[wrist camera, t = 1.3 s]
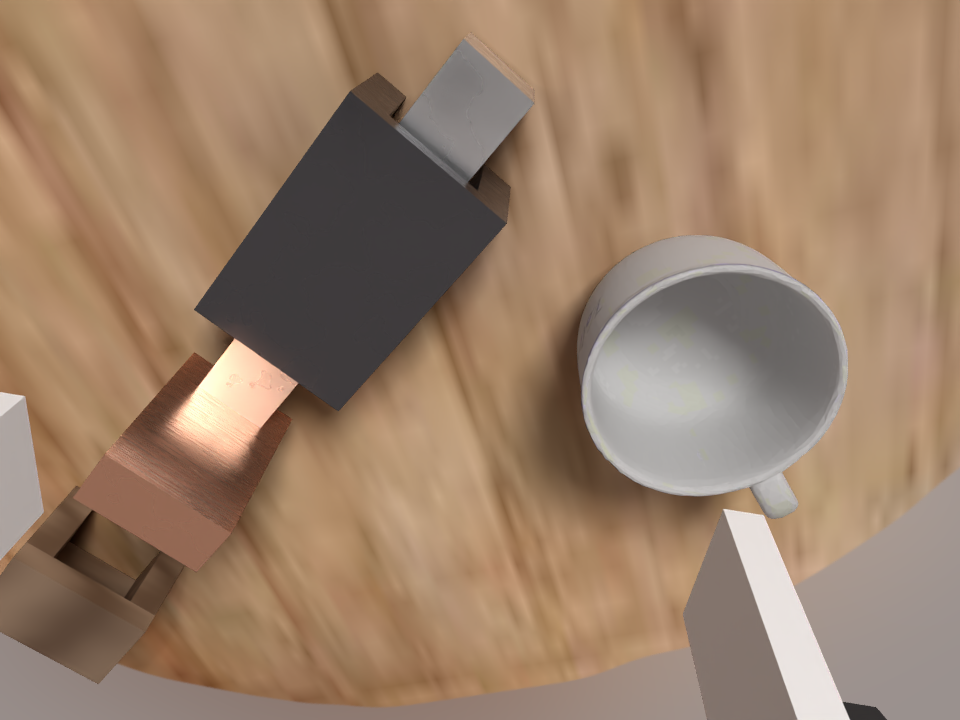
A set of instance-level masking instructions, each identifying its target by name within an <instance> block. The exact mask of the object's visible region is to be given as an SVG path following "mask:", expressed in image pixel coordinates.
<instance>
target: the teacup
mask: <svg viewBox="0 0 960 720" xmlns="http://www.w3.org/2000/svg"><path fill="white" fill-rule="evenodd" d="M577 360H578V371H579V378H580V385H581V406H582V411H583V416H584V420H585V423H586V427H587V429H588V431H589V433H590V436H591V438H592V440H593V442H594V443H595V445H596V447H597V449H598V450H599V451H600V452H601V453H602V455H603V456H604V458H605V459H606V460H608V461H610V463H611V464H612V465H613V466H614V467H615V468H616V469H617V470H618V471H619V472H620V473H622V474H624V475H625V476H626V477H628V478H630V479H631V480H633V481H635V482H637V483H638V484H640V485H642V486H645V487H648V488H651V489H654V490H657V491H660V492H663V493H668V494H674V495H680V496H710V495H718V494H723V493H728V492H733V491H736V490H740V489H744V488H748V487H749V488H750V489H751V491H752V493H753V495H754V496H755V498H756V500H757V502H758V503H759V505H760V507H761V509H762V510H763V512H764V513H765V514H766V516H767V517H769V518H771V519H776V518H782V517H784V516H786V515H788V514H790V513H792V512H793V511H795V509H796V508H797V506H798V501H797V499H796V497H795V495H794V493H793V492H792V490H791V488H790V486H789V485H788V483H787V481H786V479H785V477H784V475H783V473H782V472H783V471H784V470H785V469H787V468H788V467H789V466H791V465H792V464H794V463H795V462H796V461H797V460H798V459H799V458H800V457H801V456H802V455H804V454H805V453H807V452H808V451H809V450H810V449H811V448H812V447H813V446H814V445H815V444H816V443H817V442H818V441H819V440H820V439H821V438H822V436H823V435H824V434H825V432H826V431H827V430H828V428H829V426H830V425H831V423H832V421H833V420H834V418H835V416H836V414H837V412H838V410H839V408H840V405H841V403H842V400H843V397H844V393H845V389H846V385H847V378H848V356H847V347H846V343H845V339H844V335H843V332H842V330H841V327H840V325H839V323H838V321H837V319H836V318H835V316H834V314H833V313H832V312H831V310H830V309H829V307H828V306H827V305H826V304H825V303H824V302H823V301H822V299H821V298H820V297H819V296H818V295H817V294H816V293H814V292H813V291H812V290H811V289H809V288H808V287H807V286H806V285H804V284H802V283H801V282H799V281H797V280H796V279H794V278H792V277H791V276H790V275H789V274H788V273H786V272H785V271H784V270H783V269H782V268H780V267H779V266H778V265H776V264H775V263H774V262H772V261H771V260H770V259H768V258H767V257H766V256H764V255H762V254H761V253H759V252H757V251H756V250H754V249H752V248H750V247H748V246H745V245H743V244H741V243H738V242H735V241H732V240H729V239H726V238H721V237H715V236H707V235H687V236H678V237H673V238H668V239H664V240H660V241H657V242H655V243H652V244H649V245H647V246H645V247H643V248H641V249H639V250H637V251H635V252H633V253H632V254H630V255H629V256H627V257H625V258H624V259H623V260H621V261H620V262H619V263H618V264H616V265H615V266H614V267H613V268H612V269H611V270H610V271H609V272H608V273H607V274H606V275H605V276H604V278H603V279H602V280H601V282H600V283H599V284H598V285H597V287H596V288H595V290H594V291H593V293H592V294H591V296H590V298H589V300H588V302H587V304H586V307H585V309H584V312H583V315H582V318H581V321H580V326H579V331H578V340H577Z"/></svg>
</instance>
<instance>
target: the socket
mask: <svg viewBox="0 0 960 720" xmlns="http://www.w3.org/2000/svg"><path fill="white" fill-rule="evenodd" d="M79 489H80V488H79V487H77V486H76V487H75V488H74V489H73V490H72V491H71V492H70V494H69V495H68V496H67V497H66V498H65V499H64V500H63V501H62V503H61V504H60V505H59V506H58V507H57V508H56V509H55V511H54V512H53V513H52V514H51V515H50V516H49V517H48V518H47V520H46V521H45V522H44V523H43V524H42V525H41V526H40V528H39V529H38V530H37V531H36V532H35V533H34V534H33V536H32V537H31V538H30V539H29V540H28V541H27V542H26V543H25V545H24V546H23V547H22V548H21V549H20V550H19V551H18V553H17V554H16V555H15V556H14V557H13V558H12V560H11V561H10V563H9V564H8V565H7V567H6V568H5V570H4V571H3V572H2V574H1V575H0V632H2V633H4V634H5V635H7V636H9V637H11V638H13V639H15V640H17V641H18V642H20V643H22V644H24V645H26V646H28V647H30V648H32V649H33V650H35V651H37V652H39V653H41V654H43V655H45V656H47V657H49V658H50V659H52V660H54V661H56V662H58V663H60V664H62V665H64V666H65V667H67V668H69V669H71V670H73V671H75V672H77V673H79V674H80V675H82V676H84V677H86V678H88V679H90V680H92V681H94V682H95V683H97V684H99V683H100V682H101V681H102V680H103V678H104V677H105V676H106V675H107V674H108V673H109V672H110V671H111V670H112V668H113V667H114V666H115V665H116V664H117V663H118V662H119V661H120V660H121V658H122V657H123V656H124V655H125V654H126V653H127V652H128V651H129V650H130V649H131V647H132V646H133V645H134V644H135V643H136V642H137V641H138V640H139V639H140V637H141V636H142V635H143V634H144V633H145V632H146V630H147V628H148V627H149V625H150V623H151V622H152V620H153V618H154V616H155V615H156V613H157V611H158V610H159V608H160V606H161V604H162V603H163V601H164V599H165V598H166V596H167V594H168V592H169V591H170V589H171V587H172V586H173V584H174V582H175V580H176V579H177V577H178V575H179V574H180V572H181V570H182V568H183V567H184V564H182V563H180V562H179V561H177V560H175V559H174V558H172V557H170V556H169V555H167V554H165V553H164V552H162V551H160V552H159V553H158V554H157V556H156V557H155V558H154V559H153V560H152V561H151V563H150V564H149V565H148V566H147V567H146V569H145V570H144V571H143V572H142V573H141V574H140V576H139V577H138V578H137V579H136V580H134V579H132V578H131V577H129V576H127V575H125V574H124V573H122V572H120V571H119V570H117V569H115V568H113V567H112V566H110V565H108V564H107V563H105V562H103V561H101V560H100V559H98V558H96V557H94V556H93V555H91V554H89V553H88V552H86V551H84V550H82V549H81V548H79V547H77V546H76V545H74V544H72V543H70V542H69V541H70V539H71V538H72V537H73V535H74V534H75V533H76V531H77V530H78V529H79V527H80V526H81V525H82V523H83V522H84V521H85V519H86V518H87V517H88V515H89V514H90V513H91V511H92V509H90V508H89V507H87V506H85V505H84V504H82V503H80V502H79V501H77V500H75V499H74V498H73V497H74V496H75V494H76V493H77V492H78V490H79Z"/></svg>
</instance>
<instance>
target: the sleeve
mask: <svg viewBox="0 0 960 720" xmlns="http://www.w3.org/2000/svg"><path fill="white" fill-rule="evenodd" d="M405 98H406V96H404V95H403V94H402V93H401V92H400V91H399V90H397V89H396V88H395V87H394V86H393V85H392V84H390V83H389V82H388V81H387V80H386V79H385V78H384V77H382V76H381V75H380V74H379V73H376V74H375V75H373V76H372V77H370V78H369V79H367V80H366V81H364V82H363V83H361V84H360V85H358V86H357V87H356V88H354V89H353V90H351V91H350V92H349V94H348V95H347V96H346V98H345V99H344V101H343V102H342V103H341V105H340V106H339V108H338V109H337V110H336V112H335V113H334V114H333V116H332V117H331V119H330V120H329V121H328V123H327V124H326V126H325V127H324V128H323V130H322V131H321V133H320V134H319V135H318V137H317V138H316V140H315V141H314V142H313V144H312V145H311V147H310V148H309V149H308V151H307V152H306V154H305V155H304V156H303V158H302V159H301V161H300V162H299V163H298V165H297V166H296V168H295V169H294V170H293V172H292V173H291V175H290V176H289V177H288V179H287V180H286V182H285V183H284V184H283V186H282V187H281V189H280V190H279V191H278V193H277V194H276V196H275V197H274V198H273V200H272V201H271V203H270V204H269V205H268V207H267V208H266V210H265V211H264V212H263V214H262V215H261V217H260V218H259V219H258V221H257V222H256V224H255V225H254V226H253V228H252V229H251V231H250V232H249V233H248V235H247V236H246V238H245V239H244V240H243V242H242V243H241V245H240V246H239V247H238V249H237V250H236V252H235V253H234V254H233V256H232V257H231V259H230V260H229V261H228V263H227V264H226V266H225V267H224V268H223V270H222V271H221V273H220V274H219V275H218V277H217V278H216V280H215V281H214V282H213V284H212V285H211V287H210V288H209V289H208V291H207V292H206V294H205V295H204V296H203V298H202V299H201V301H200V302H199V303H198V305H197V306H196V308H195V309H194V310H195V311H197V312H198V313H199V314H201V315H202V316H204V317H205V318H207V319H208V320H209V321H211V322H212V323H214V324H215V325H216V326H218V327H219V328H221V329H222V330H224V331H225V332H226V333H228V334H229V335H231V336H232V337H234V338H235V339H236V340H238V341H239V342H241V343H242V344H243V345H245V346H246V347H248V348H249V349H251V350H252V351H253V352H255V353H256V354H258V355H259V356H260V357H262V358H263V359H265V360H266V361H268V362H269V363H270V364H272V365H273V366H275V367H276V368H278V369H279V370H280V371H282V372H283V373H285V374H286V375H287V376H289V377H290V378H292V379H293V380H295V381H296V382H297V383H299V384H300V385H302V386H303V387H305V388H306V389H307V390H309V391H310V392H312V393H313V394H314V395H316V396H317V397H319V398H320V399H322V400H323V401H324V402H326V403H327V404H329V405H330V406H332V407H333V408H334V409H336V410H337V411H339V410H340V409H341V408H342V407H343V406H344V404H345V403H346V402H347V401H348V400H349V399H350V398H351V397H352V396H353V394H354V393H355V392H356V391H357V390H358V389H359V388H360V387H361V385H362V384H363V383H364V382H365V381H366V380H367V379H368V378H369V377H370V375H371V374H372V373H373V372H374V371H375V370H376V369H377V368H378V367H379V365H380V364H381V363H382V362H383V361H384V360H385V359H386V358H387V356H388V355H389V354H390V353H391V352H392V351H393V350H394V349H395V348H396V346H397V345H398V344H399V343H400V342H401V341H402V340H403V339H404V338H405V336H406V335H407V334H408V333H409V332H410V331H411V330H412V329H413V328H414V326H415V325H416V324H417V323H418V322H419V321H420V320H421V319H422V317H423V316H424V315H425V314H426V313H427V312H428V311H429V310H430V309H431V307H432V306H433V305H434V304H435V303H436V302H437V301H438V300H439V299H440V297H441V296H442V295H443V294H444V293H445V292H446V291H447V290H448V288H449V287H450V286H451V285H452V284H453V283H454V282H455V281H456V280H457V278H458V277H459V276H460V275H461V274H462V273H463V272H464V271H465V270H466V268H467V267H468V266H469V265H470V264H471V263H472V262H473V261H474V259H475V258H476V257H477V256H478V255H479V254H480V253H481V252H482V251H483V249H484V248H485V247H486V246H487V245H488V244H489V243H490V242H491V241H492V239H493V238H494V237H495V236H496V235H497V234H498V233H499V232H500V230H501V229H502V228H503V227H504V226H505V225H506V224H507V217H508V208H509V198H510V188H511V187H510V186H509V185H508V184H506V183H505V182H504V181H503V180H502V179H501V178H499V177H498V176H497V175H496V174H495V173H494V172H492V171H491V170H490V169H489V168H488V167H487V166H486V165H484V166H483V167H482V168H481V170H480V171H479V172H478V173H477V174H476V175H475V177H474V178H473V179H472V180H471V181H470V183H468V182H467V181H466V180H465V179H463V178H462V177H461V176H460V175H459V174H457V173H456V172H455V171H454V170H453V169H452V168H450V167H449V166H448V165H447V164H446V163H445V162H443V161H442V160H441V159H440V158H439V157H437V156H436V155H435V154H434V153H433V152H432V151H430V150H429V149H428V148H427V147H426V146H424V145H423V144H422V143H421V142H420V141H419V140H417V139H416V138H415V137H414V136H413V135H412V134H410V133H409V132H408V131H407V130H406V129H404V128H403V127H402V126H401V125H400V124H399V123H397V122H396V121H395V120H394V119H393V118H391V117H392V115H393V114H394V113H395V111H396V110H397V109H398V107H399V106H400V105H401V103H402V102H403V101H404V99H405Z"/></svg>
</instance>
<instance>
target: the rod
mask: <svg viewBox="0 0 960 720" xmlns="http://www.w3.org/2000/svg"><path fill="white" fill-rule="evenodd" d="M533 104H534V89H533V88H532V87H531V86H530V85H529V84H527V83H526V82H525V81H524V80H523V79H522V78H521V77H520V76H519V75H518V74H517V73H515V72H514V71H513V70H512V69H511V68H510V67H509V66H508V65H507V64H506V63H505V62H503V61H502V60H501V59H500V58H499V57H498V56H497V55H496V54H495V53H494V52H493V51H491V50H490V49H489V48H488V47H487V46H486V45H485V44H484V43H483V42H482V41H481V40H480V39H478V38H477V37H476V36H475V35H474V34H473V33H472V32H470V33H469V34H468V35H467V36H466V37H465V38H464V39H463V40H462V42H461V43H460V44H459V46H458V47H457V48H456V50H455V51H454V52H453V54H452V55H451V56H450V58H449V59H448V60H447V61H446V63H445V64H444V65H443V67H442V68H441V69H440V71H439V72H438V73H437V75H436V76H435V77H434V78H433V80H432V81H431V82H430V84H429V85H428V86H427V88H426V89H425V90H424V92H423V93H422V94H421V95H420V97H419V98H418V99H417V101H416V102H415V103H414V105H413V106H412V107H411V109H410V110H409V111H408V113H407V114H406V115H405V116H404V118H403V119H402V120H401V122H400V123H399V124H400V125H401V126H402V127H403V128H404V129H406V130H407V131H408V132H409V133H410V134H412V135H413V136H414V137H415V138H416V139H417V140H419V141H420V142H421V143H422V144H423V145H424V146H426V147H427V148H428V149H429V150H430V151H432V152H433V153H434V154H435V155H436V156H437V157H439V158H440V159H441V160H442V161H443V162H445V163H446V164H447V165H448V166H449V167H450V168H452V169H453V170H454V171H455V172H456V173H457V174H459V175H460V176H461V177H462V178H463V179H465V180H466V181H467V182H468V181H469V180H470V179H471V178H472V177H473V175H474V174H475V173H476V172H477V171H478V169H479V168H480V167H481V166H482V165H483V164H484V162H485V161H486V160H487V159H488V158H489V156H490V155H491V154H492V153H493V152H494V151H495V149H496V148H497V147H498V146H499V145H500V143H501V142H502V141H503V140H504V139H505V137H506V136H507V135H508V134H509V133H510V132H511V130H512V129H513V128H514V127H515V126H516V124H517V123H518V122H519V121H520V120H521V119H522V117H523V116H524V115H525V114H526V113H527V111H528V110H529V109H530V108H531V107H532V105H533ZM297 384H298V383H297V382H296V381H295V380H293V379H292V378H290V377H289V376H287V375H286V374H285V373H283V372H282V371H280V370H279V369H278V368H276V367H275V366H273V365H272V364H270V363H269V362H268V361H266V360H265V359H263V358H262V357H260V356H259V355H258V354H256V353H255V352H253V351H252V350H251V349H249V348H248V347H246V346H245V345H243V344H242V343H241V342H239V341H238V340H236V339H234V340H233V342H232V343H231V344H230V346H229V347H228V348H227V350H226V351H225V352H224V354H223V355H222V356H221V357H220V359H219V360H218V361H217V363H216V364H215V365H212V364H211V363H209V362H208V361H206V360H205V359H204V358H202V357H201V356H199V355H198V354H196V353H195V352H194V353H193V354H192V356H191V357H190V358H189V359H188V360H187V361H186V362H185V364H184V365H183V366H182V367H181V368H180V369H179V370H178V371H177V373H176V374H175V375H174V376H173V377H172V378H171V379H170V381H169V382H168V383H167V384H166V385H165V386H164V387H163V389H162V390H161V391H160V392H159V393H158V394H157V395H156V396H155V398H154V399H153V400H152V401H151V402H150V403H149V404H148V406H147V407H146V408H145V409H144V410H143V411H142V412H141V414H140V415H139V416H138V417H137V418H136V419H135V420H134V421H133V423H132V424H131V425H130V426H129V427H128V428H127V429H126V431H125V432H124V433H123V434H122V435H121V436H120V437H119V439H118V440H117V441H116V442H115V443H114V444H113V445H112V446H111V448H110V449H109V450H108V451H107V452H106V453H105V454H104V456H103V457H102V459H101V460H100V461H99V463H98V464H97V465H96V467H95V468H94V470H93V471H92V472H91V474H90V475H89V476H88V478H87V479H86V481H85V482H84V483H83V485H82V486H81V487H80V489H79V490H78V492H77V493H76V494H75V496H74V497H73V498H74V499H75V500H77V501H79V502H80V503H82V504H84V505H85V506H87V507H89V508H90V509H92V510H94V511H95V512H97V513H99V514H100V515H102V516H104V517H105V518H107V519H109V520H110V521H112V522H114V523H115V524H117V525H119V526H120V527H122V528H124V529H125V530H127V531H129V532H130V533H132V534H134V535H135V536H137V537H139V538H140V539H142V540H144V541H145V542H147V543H149V544H150V545H152V546H154V547H155V548H157V549H159V550H160V551H162V552H164V553H165V554H167V555H169V556H170V557H172V558H174V559H175V560H177V561H179V562H180V563H182V564H184V565H185V566H187V567H189V568H190V569H192V570H194V571H195V572H197V571H198V570H199V569H200V568H201V567H202V566H203V564H204V563H205V562H206V561H207V560H208V559H209V558H210V557H211V556H212V554H213V553H214V552H215V551H216V550H217V549H218V548H219V547H220V546H221V544H222V543H223V542H224V541H225V540H226V539H227V538H228V537H229V536H230V534H231V533H232V531H233V529H234V528H235V526H236V524H237V522H238V520H239V518H240V516H241V514H242V513H243V511H244V509H245V507H246V505H247V503H248V501H249V499H250V498H251V496H252V494H253V492H254V490H255V488H256V486H257V484H258V483H259V481H260V479H261V477H262V475H263V473H264V471H265V469H266V468H267V466H268V464H269V462H270V460H271V458H272V456H273V454H274V453H275V451H276V449H277V447H278V445H279V443H280V441H281V439H282V438H283V436H284V434H285V432H286V430H287V428H288V426H289V424H290V423H291V421H292V419H291V418H289V417H288V416H286V415H285V414H284V413H282V412H281V411H279V410H278V409H277V408H278V407H279V405H280V404H281V403H282V402H283V401H284V400H285V398H286V397H287V396H288V395H289V394H290V392H291V391H292V390H293V389H294V388H295V386H296V385H297Z"/></svg>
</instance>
